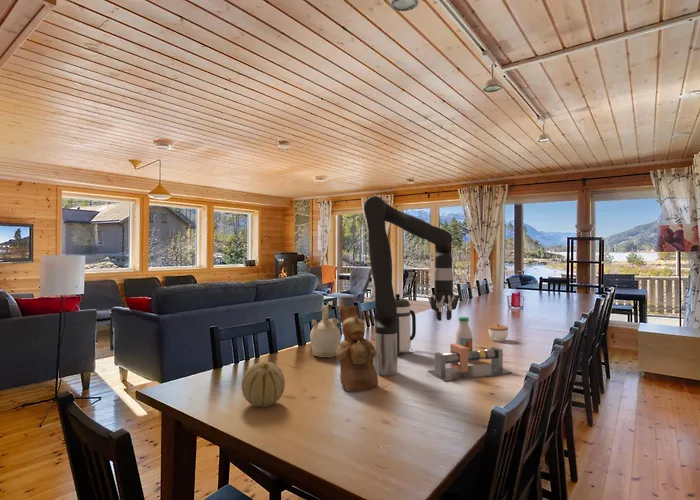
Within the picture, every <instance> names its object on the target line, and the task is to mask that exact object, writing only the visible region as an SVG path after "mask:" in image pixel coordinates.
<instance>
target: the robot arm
mask: <svg viewBox="0 0 700 500" xmlns="http://www.w3.org/2000/svg"><path fill="white" fill-rule="evenodd" d="M363 211H364V216H365V220H366V225H367V231H368V232H367V235H368V252H369V262H370V269H371V274H372V279H373V282H374V293H375V294H374V295H375V297H374V298H375V299H374V300H375V301H374V303H375V304H374V309H375V310H374V311H375V313H374V314H375V317H374V318H375V323H374V325H375V326H374V328H375V329H374V330H375V331H374V333H375V339H374V340H375V350H376V354H375V356H374V358H373V365H374V368H375V371H376V374H377V376H386V377H387V376H395V375H397V374H398V356H397V303H396V300H395V298H396V296H395V294H394V288H393V259H392V258H393V257H392V249H391V245H390V242H389V237H388V234H387V229H386V222H387V223H389V224H392V225H394V226H397V227H398V228H400V229H402V230H404V231H406V232H407V233H409V234H411V235H413V236H416V237H418V238H420V239H421V240H425V241H427V242H430V243H432V244H434V249H435V250H434V251H435V255H434V256H435V257H434V274H433V275H434V276H433V277H434V293H433V295H428V297H427V298H428V302H429V304H430V307H431V310H433V311H434V312H435V318H436V320H437V321H438V322H439V321H440V322H441V321H442V307H443V306H444V304H445V308H446V311H445V312H446V314H445V317H446V320H447V321H451V319H452V317H453V316H452V314H453V313H452V311H454V310H456V309H457V306H458V303H459V299H460V295H456V294H455V293H454V292H453V291H454V273H453V272H454V271H453V256H452V243H453V235H452V234H451V233H450V231H448V230H445V229H443V228H440V227H438V226H435V225H432V224H431V223H429V222H426V221H425V220H422V219H420V218H418V217H416V216H413V215H410V214H408V213H405V212H402V211H400V210H398V209H396V208H395V207H393V206H391V205H389V204H388V203H387V202H385V200H384V199H383V198H381V197H380V196H377V195H373V196H370V197H368V198H367V199H366V200H365V202H364V204H363Z"/></svg>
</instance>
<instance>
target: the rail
mask: <svg viewBox="0 0 700 500" xmlns="http://www.w3.org/2000/svg"><path fill="white" fill-rule="evenodd" d="M503 355H504V354H503V348H499V347H497V346H491V347H490V348H489V349H483V350H472V351H468V362H475V361H479V360H490V361H491V363H484V364H483V363H482V364H475V365H468V371H467V372H460V371H458V370H456V369H454V368H452V367H448V368H446V364H447V365H449V364H451V363H458V364H459V363H460V354H459V353H450V352H449V353H441V352H434V369H429V370H427V373H429V374H430V375H433V376H434V377H435V378H438V379H440V380H441V381H443V382H445V383H446V382H447V383H448V382H453V381H454V382H455V381H461V380H462V381H463V380H469V379H470V380H471V379H480V378H485V377H487V378H488V377H493V376H494V377H495V376H504V375H505V376H506V375H512V373H513V371H510V370H507V369H505V368H504V366H503V365H504V363H503V362H504V358H503Z"/></svg>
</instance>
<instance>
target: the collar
mask: <svg viewBox="0 0 700 500" xmlns="http://www.w3.org/2000/svg"><path fill="white" fill-rule="evenodd" d="M449 347H450V352H449V353H459V354H460V362H458V363H450V368H454V369H456V370H458V371H460V372H467V371H468V366H469V361H468V348H467V347H464V346H461V345H459V344H456V343H450V346H449Z"/></svg>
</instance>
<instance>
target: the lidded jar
mask: <svg viewBox="0 0 700 500" xmlns="http://www.w3.org/2000/svg"><path fill="white" fill-rule="evenodd" d="M488 335H489V338H490V339H491V340H492V341H493V342H500V343H501V342H504V341H505V340H506V339H507V337H508V335H509V327H508V326H506V325H500V324H499V323H497V324H494V325H488Z"/></svg>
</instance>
